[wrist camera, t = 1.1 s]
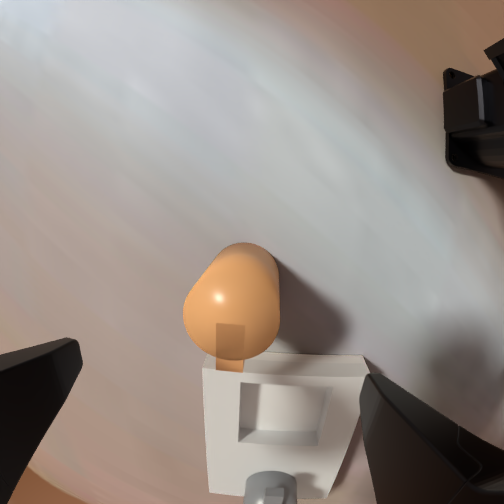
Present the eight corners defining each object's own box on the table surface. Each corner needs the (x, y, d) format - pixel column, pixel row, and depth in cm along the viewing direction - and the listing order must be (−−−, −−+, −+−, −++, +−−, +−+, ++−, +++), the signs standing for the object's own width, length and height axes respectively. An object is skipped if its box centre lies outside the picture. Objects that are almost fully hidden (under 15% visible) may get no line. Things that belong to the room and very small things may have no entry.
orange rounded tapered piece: (281, 244, 18) (284, 276, 12) (275, 319, 19) (274, 375, 13) (211, 240, 18) (182, 268, 12) (210, 313, 19) (185, 366, 13)
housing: (362, 355, 19) (387, 413, 13) (324, 477, 22) (329, 529, 16) (210, 347, 20) (187, 405, 14) (213, 472, 23) (202, 523, 17)
